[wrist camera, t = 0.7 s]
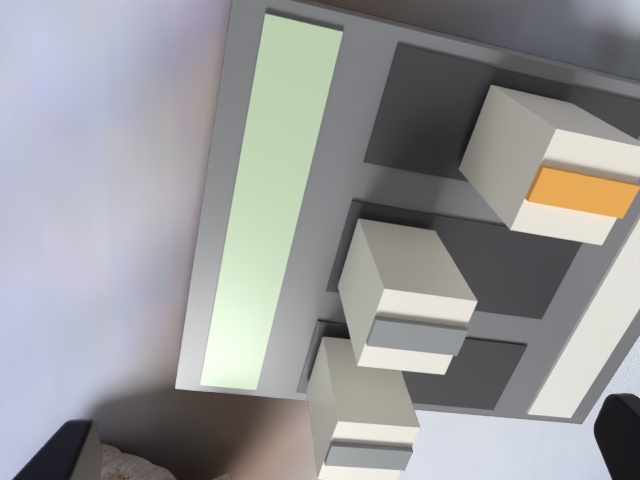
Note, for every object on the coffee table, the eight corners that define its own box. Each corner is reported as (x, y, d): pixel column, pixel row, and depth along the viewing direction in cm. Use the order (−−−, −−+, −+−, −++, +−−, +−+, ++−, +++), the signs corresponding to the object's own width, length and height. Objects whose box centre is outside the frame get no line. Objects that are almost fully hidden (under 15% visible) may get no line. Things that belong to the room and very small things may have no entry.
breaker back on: (392, 344, 23) (422, 432, 19) (372, 396, 24) (396, 488, 20) (322, 336, 22) (338, 426, 18) (306, 389, 24) (318, 484, 20)
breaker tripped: (571, 103, 18) (659, 152, 14) (534, 183, 20) (605, 248, 16) (490, 84, 18) (560, 131, 14) (458, 169, 19) (513, 233, 15)
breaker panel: (747, 107, 21) (783, 120, 20) (566, 401, 29) (583, 426, 27) (235, -19, 17) (233, -13, 16) (179, 364, 25) (174, 391, 23)
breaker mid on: (435, 230, 20) (480, 305, 16) (410, 295, 22) (446, 378, 18) (358, 218, 20) (385, 292, 16) (337, 286, 21) (358, 370, 17)
